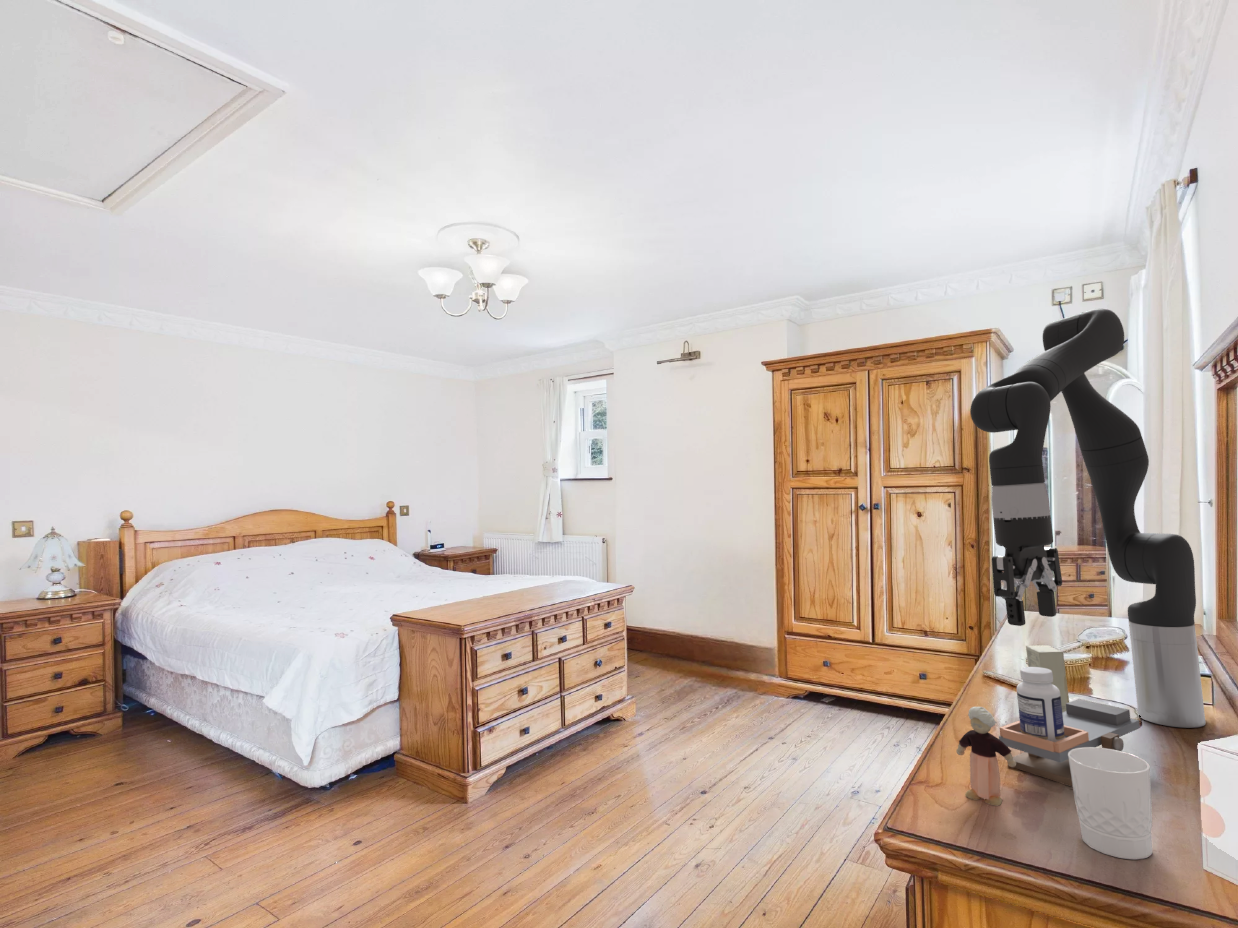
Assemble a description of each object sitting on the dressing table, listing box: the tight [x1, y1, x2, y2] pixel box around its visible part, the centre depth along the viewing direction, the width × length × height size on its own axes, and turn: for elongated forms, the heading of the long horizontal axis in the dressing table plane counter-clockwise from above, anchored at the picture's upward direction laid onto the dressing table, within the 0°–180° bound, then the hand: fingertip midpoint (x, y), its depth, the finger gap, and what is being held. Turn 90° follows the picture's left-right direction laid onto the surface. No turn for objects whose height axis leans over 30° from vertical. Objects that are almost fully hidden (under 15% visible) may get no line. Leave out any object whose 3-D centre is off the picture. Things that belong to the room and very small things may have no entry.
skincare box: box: [1025, 644, 1070, 713], centre depth 123 cm, size 6×4×12 cm
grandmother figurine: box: [956, 706, 1016, 807], centre depth 90 cm, size 8×4×13 cm, turn 50°
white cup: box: [1068, 747, 1153, 860], centre depth 78 cm, size 8×8×10 cm
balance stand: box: [1007, 732, 1125, 788], centre depth 97 cm, size 10×14×7 cm
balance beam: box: [998, 698, 1141, 763], centre depth 97 cm, size 22×8×3 cm, turn 118°
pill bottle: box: [1016, 666, 1065, 742], centre depth 94 cm, size 5×5×10 cm
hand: (1032, 620), depth 98 cm, fingers open, 8 cm apart
